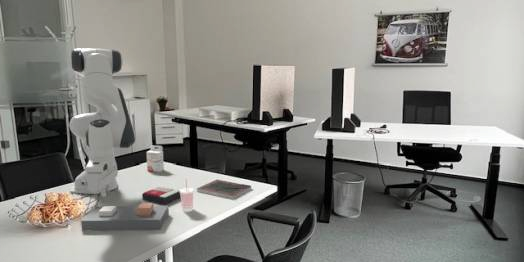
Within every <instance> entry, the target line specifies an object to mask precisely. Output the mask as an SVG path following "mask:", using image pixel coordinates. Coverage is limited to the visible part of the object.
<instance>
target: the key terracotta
mask: <svg viewBox="0 0 524 262" xmlns="http://www.w3.org/2000/svg"><path fill="white" fill-rule="evenodd" d="M137 206H138V207H137V215H138V216H143V215H151V214H152V213H153V211H154V209H153V206H154V202H147V203H145V202H144V203H140V204H139V205H137Z"/></svg>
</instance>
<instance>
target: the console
mask: <svg viewBox="0 0 524 262" xmlns="http://www.w3.org/2000/svg"><path fill="white" fill-rule="evenodd" d="M115 206H116V213H115V214H114V215H113V216H99V210H100V209H101V208H102V207H103V206H95V207H93V209H92V210H91V211H90V212H89V213H87V214H86V215H85V216H84V218H83V219H81V220H80V222H81V223H80V225H81V231H83V230H84V231H85V230H86V231H87V230H91V231H141V230H142V231H144V230H148V231H149V230H162V228H163V226H164V224H165V222H166V221H167V219H168V217H169V215H170V214H169V213H170V212H169V211H170V210H169V205H153V209H154V211H153V213H152V214H151V215H143V216H138V215H137V207H138V206H139V205H125V206H124V205H122V206H121V205H120V206H119V205H115ZM87 232H88V231H87Z"/></svg>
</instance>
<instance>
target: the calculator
mask: <svg viewBox="0 0 524 262" xmlns="http://www.w3.org/2000/svg"><path fill="white" fill-rule="evenodd" d="M179 190H180V189H174V188H169V187H162V186H157V187H154V188H152V189H150V190H147V191H144V192H143V193H142V195H141V197H142V200H143V201H148V202H150V203H156V204H160V205H162V206H168V205H170V204H172V203H174V202H177V201H178V200H181V196H180V191H179Z"/></svg>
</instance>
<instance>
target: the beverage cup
mask: <svg viewBox="0 0 524 262" xmlns="http://www.w3.org/2000/svg"><path fill="white" fill-rule="evenodd" d="M178 190H179V191H180V196H181V198H180V203H181V210H182V212H185V213H189V212H192V211H193V210H194V191H195V189H194V188H193V187H188V179H187V178H185V187H183V188H180V189H178Z"/></svg>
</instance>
